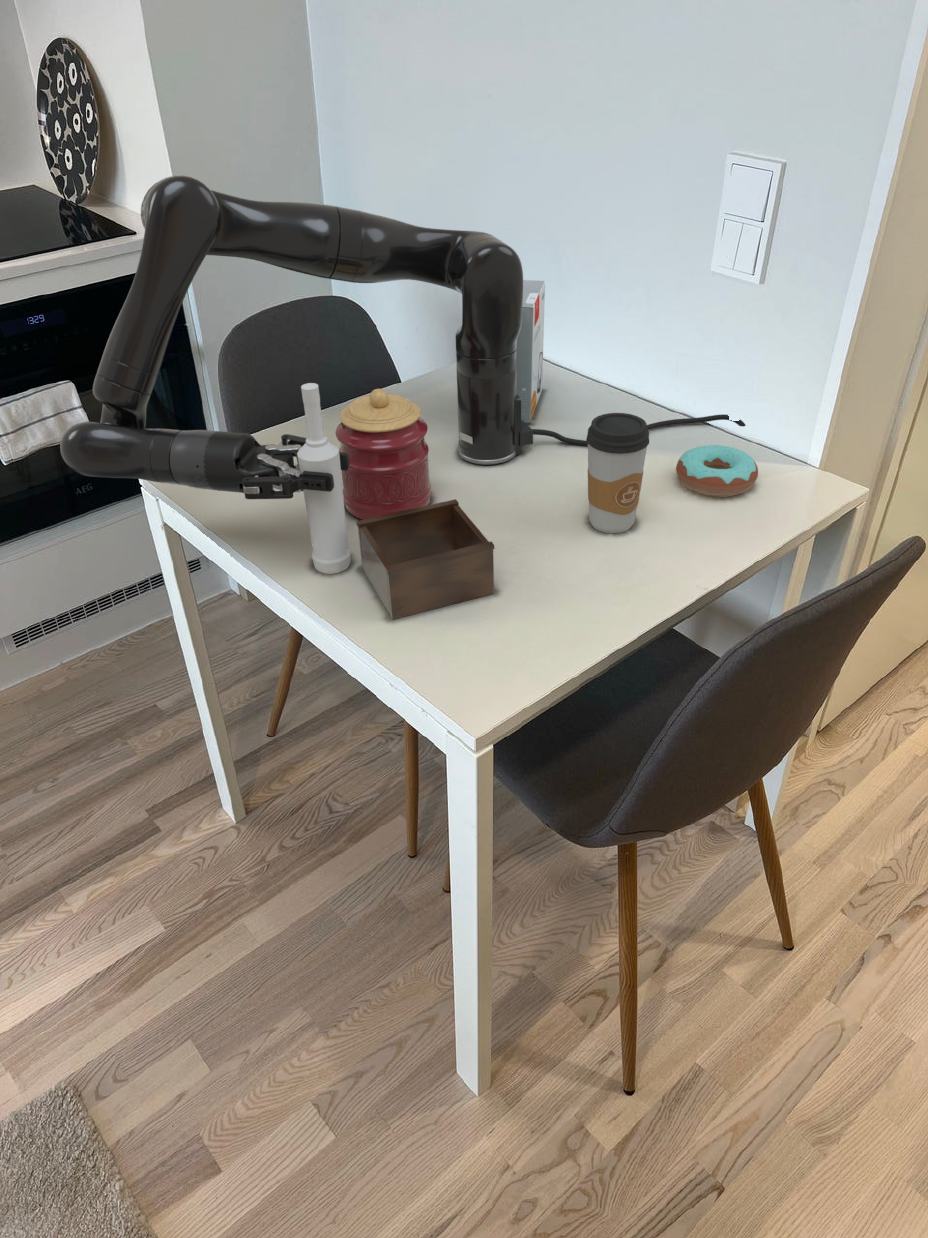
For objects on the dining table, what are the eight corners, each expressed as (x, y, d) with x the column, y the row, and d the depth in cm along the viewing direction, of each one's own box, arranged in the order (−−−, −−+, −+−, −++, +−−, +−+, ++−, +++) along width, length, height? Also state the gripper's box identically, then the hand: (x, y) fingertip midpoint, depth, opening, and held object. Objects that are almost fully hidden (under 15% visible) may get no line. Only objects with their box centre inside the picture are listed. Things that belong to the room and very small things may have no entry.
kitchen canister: (411, 530, 131) (402, 413, 121) (328, 517, 135) (314, 402, 125) (444, 489, 141) (439, 377, 131) (366, 477, 145) (356, 367, 135)
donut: (682, 502, 136) (685, 477, 133) (668, 465, 145) (671, 441, 143) (764, 500, 135) (769, 476, 133) (745, 463, 145) (749, 439, 143)
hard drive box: (531, 425, 159) (532, 307, 147) (487, 422, 160) (485, 306, 148) (543, 389, 171) (545, 278, 159) (502, 387, 172) (501, 277, 161)
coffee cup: (603, 543, 127) (610, 442, 118) (570, 517, 133) (574, 419, 124) (653, 528, 130) (664, 428, 121) (618, 503, 136) (626, 406, 127)
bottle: (314, 555, 127) (289, 379, 112) (352, 552, 127) (332, 376, 112) (312, 576, 123) (286, 396, 108) (351, 573, 123) (330, 393, 108)
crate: (457, 545, 128) (455, 498, 123) (495, 594, 118) (494, 544, 114) (361, 568, 124) (356, 520, 119) (392, 620, 114) (387, 570, 110)
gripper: (183, 458, 112) (316, 470, 108) (234, 410, 123) (356, 420, 119) (195, 513, 116) (324, 526, 113) (243, 462, 127) (361, 472, 124)
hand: (340, 471), depth 116 cm, fingers closed on bottle, 5 cm apart
